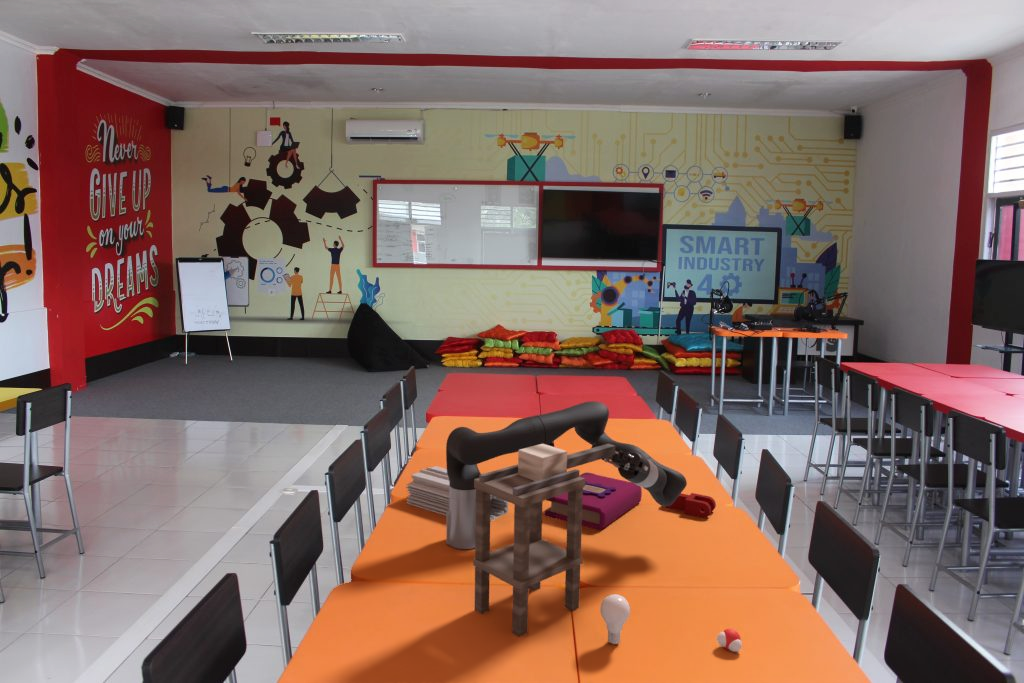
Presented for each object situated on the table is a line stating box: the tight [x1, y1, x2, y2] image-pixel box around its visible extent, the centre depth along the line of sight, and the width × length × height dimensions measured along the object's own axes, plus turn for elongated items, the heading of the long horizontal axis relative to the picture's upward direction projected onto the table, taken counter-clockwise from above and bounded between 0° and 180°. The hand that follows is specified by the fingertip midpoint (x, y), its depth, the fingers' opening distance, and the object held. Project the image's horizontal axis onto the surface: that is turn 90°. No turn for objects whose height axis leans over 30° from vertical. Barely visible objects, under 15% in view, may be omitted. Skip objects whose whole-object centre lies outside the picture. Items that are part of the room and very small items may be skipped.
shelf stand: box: [472, 464, 585, 638], centre depth 175 cm, size 20×16×34 cm
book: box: [544, 472, 643, 531], centre depth 240 cm, size 21×28×8 cm
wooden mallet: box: [517, 444, 615, 481], centre depth 182 cm, size 29×8×6 cm, turn 133°
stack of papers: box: [405, 465, 509, 522], centre depth 239 cm, size 14×31×10 cm, turn 54°
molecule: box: [716, 628, 743, 653], centre depth 162 cm, size 5×5×4 cm
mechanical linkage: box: [665, 492, 717, 519], centre depth 241 cm, size 16×7×5 cm, turn 60°
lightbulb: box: [600, 593, 631, 645], centre depth 162 cm, size 6×6×11 cm
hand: (605, 450), depth 189 cm, fingers open, 8 cm apart
